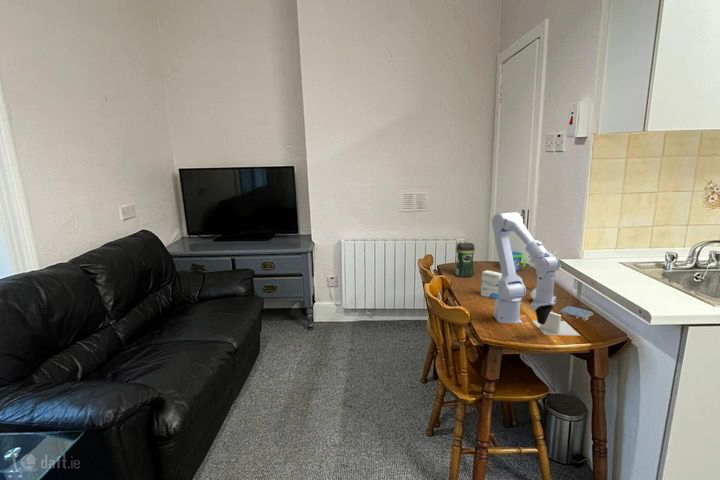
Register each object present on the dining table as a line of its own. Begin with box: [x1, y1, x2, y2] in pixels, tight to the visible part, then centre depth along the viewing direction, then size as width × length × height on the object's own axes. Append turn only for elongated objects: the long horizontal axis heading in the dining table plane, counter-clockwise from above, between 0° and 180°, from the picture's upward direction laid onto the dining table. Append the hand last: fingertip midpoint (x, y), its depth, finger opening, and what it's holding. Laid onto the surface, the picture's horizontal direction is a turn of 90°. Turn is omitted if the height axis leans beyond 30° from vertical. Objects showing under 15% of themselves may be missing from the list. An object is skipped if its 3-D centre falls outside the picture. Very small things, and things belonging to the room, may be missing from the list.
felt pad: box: [532, 320, 581, 337], centre depth 156 cm, size 13×13×1 cm
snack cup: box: [511, 250, 527, 272], centre depth 233 cm, size 16×10×10 cm
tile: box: [540, 311, 562, 333], centre depth 153 cm, size 1×7×7 cm, turn 37°
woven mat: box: [560, 305, 594, 322], centre depth 170 cm, size 10×11×2 cm
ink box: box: [480, 270, 502, 300], centre depth 191 cm, size 8×5×12 cm, turn 47°
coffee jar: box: [455, 242, 476, 278], centre depth 222 cm, size 10×8×19 cm
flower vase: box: [527, 249, 562, 301], centre depth 181 cm, size 13×18×25 cm
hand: (541, 323), depth 149 cm, fingers closed
